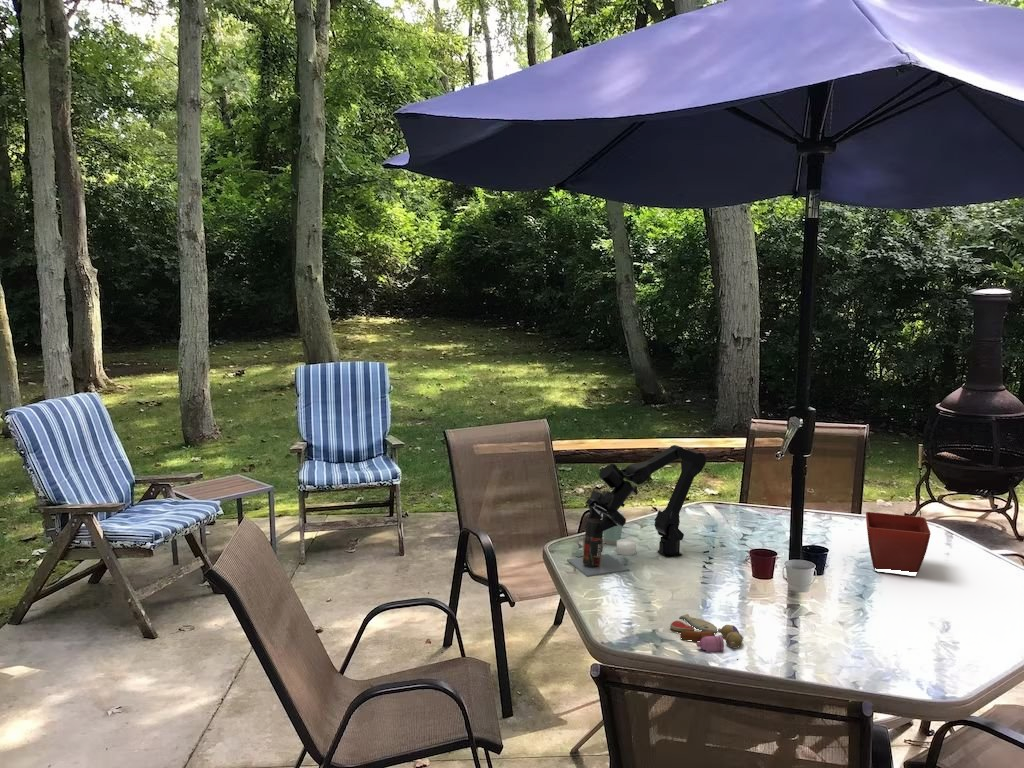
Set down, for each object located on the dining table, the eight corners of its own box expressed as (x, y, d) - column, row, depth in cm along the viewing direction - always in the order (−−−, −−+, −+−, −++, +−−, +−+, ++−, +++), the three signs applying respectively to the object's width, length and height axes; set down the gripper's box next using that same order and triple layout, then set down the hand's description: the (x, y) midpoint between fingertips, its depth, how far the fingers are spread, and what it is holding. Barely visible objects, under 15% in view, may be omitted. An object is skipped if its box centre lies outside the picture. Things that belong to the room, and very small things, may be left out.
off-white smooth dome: (630, 548, 299) (630, 537, 298) (639, 554, 292) (639, 543, 292) (613, 550, 296) (613, 540, 296) (622, 556, 290) (622, 546, 289)
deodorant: (586, 559, 283) (590, 517, 281) (602, 562, 280) (606, 520, 279) (580, 563, 278) (583, 520, 276) (596, 567, 275) (600, 524, 274)
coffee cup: (623, 539, 308) (623, 509, 306) (623, 547, 300) (624, 515, 298) (600, 538, 309) (601, 508, 307) (600, 546, 300) (601, 514, 299)
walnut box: (593, 548, 298) (593, 535, 298) (602, 552, 294) (602, 538, 294) (583, 550, 295) (583, 537, 295) (592, 554, 291) (592, 541, 291)
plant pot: (864, 574, 274) (867, 526, 271) (862, 556, 291) (865, 511, 289) (927, 582, 267) (931, 533, 264) (921, 563, 284) (925, 517, 282)
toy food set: (764, 647, 221) (765, 633, 220) (730, 666, 210) (731, 651, 209) (686, 617, 240) (687, 604, 239) (652, 633, 229) (652, 620, 228)
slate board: (607, 555, 290) (607, 553, 290) (629, 570, 276) (629, 569, 275) (567, 560, 285) (567, 559, 285) (587, 576, 270) (587, 575, 270)
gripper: (590, 475, 285) (562, 509, 282) (618, 488, 269) (589, 525, 266) (609, 494, 290) (582, 528, 287) (638, 508, 273) (609, 544, 270)
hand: (590, 531), depth 277 cm, fingers closed on deodorant, 6 cm apart
